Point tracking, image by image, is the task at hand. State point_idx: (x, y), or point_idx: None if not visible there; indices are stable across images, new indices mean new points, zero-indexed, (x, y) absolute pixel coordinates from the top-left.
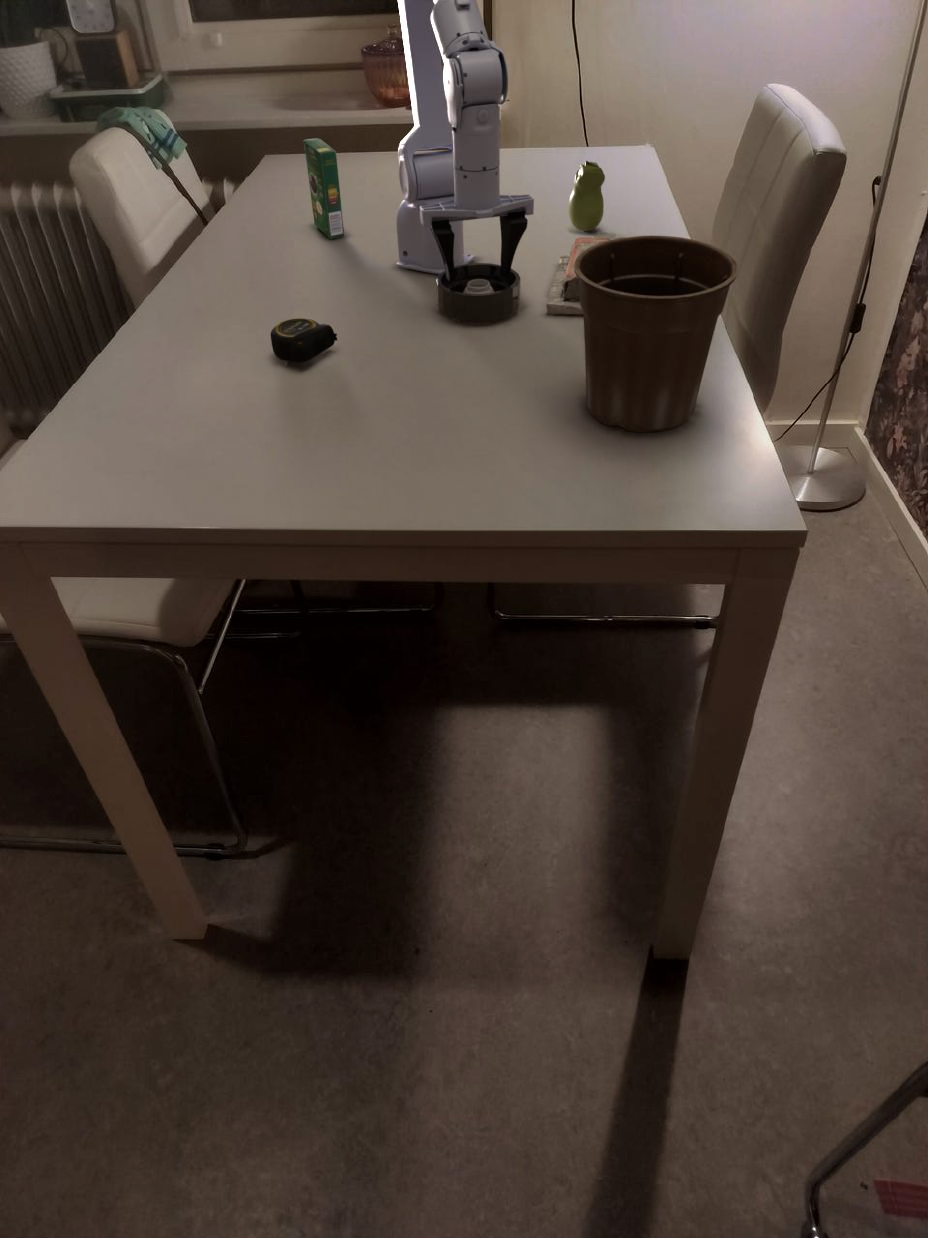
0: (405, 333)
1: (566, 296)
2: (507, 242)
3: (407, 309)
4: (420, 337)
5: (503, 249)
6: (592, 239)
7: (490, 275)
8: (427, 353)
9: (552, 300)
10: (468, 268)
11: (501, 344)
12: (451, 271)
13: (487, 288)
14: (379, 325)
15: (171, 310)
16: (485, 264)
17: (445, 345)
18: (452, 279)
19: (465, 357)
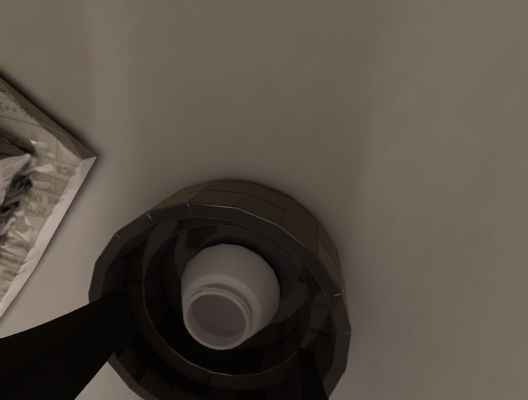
0: (483, 268)
1: (17, 147)
2: (44, 367)
3: (389, 375)
4: (464, 224)
5: (78, 374)
6: None
7: (153, 360)
8: (517, 119)
9: (60, 170)
10: None
11: (291, 55)
12: (311, 372)
13: (204, 286)
14: (510, 344)
15: None
16: (149, 393)
17: (435, 139)
18: (306, 352)
19: (435, 28)
